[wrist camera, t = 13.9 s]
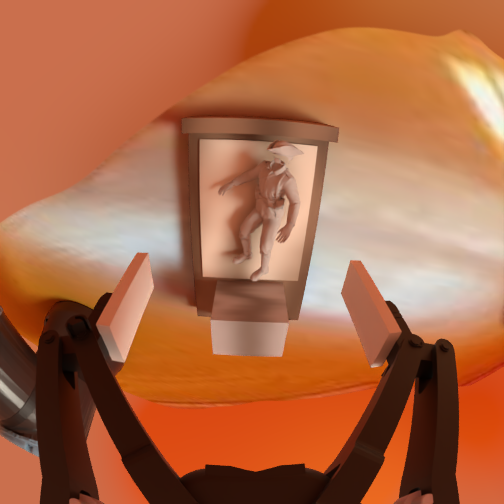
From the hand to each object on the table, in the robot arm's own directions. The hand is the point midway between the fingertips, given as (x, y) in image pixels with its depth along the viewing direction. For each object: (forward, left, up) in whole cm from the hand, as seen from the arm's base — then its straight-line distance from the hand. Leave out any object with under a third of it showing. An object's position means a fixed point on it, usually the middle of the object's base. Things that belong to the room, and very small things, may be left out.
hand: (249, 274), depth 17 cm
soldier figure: (+1, +1, -9) cm, 9 cm away
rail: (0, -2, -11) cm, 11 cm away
